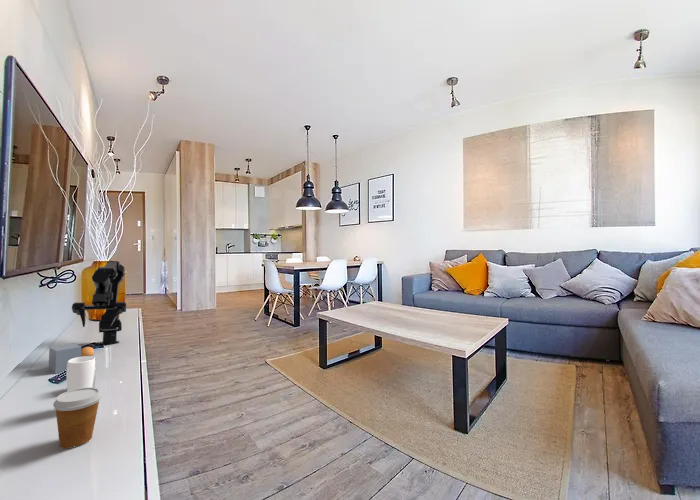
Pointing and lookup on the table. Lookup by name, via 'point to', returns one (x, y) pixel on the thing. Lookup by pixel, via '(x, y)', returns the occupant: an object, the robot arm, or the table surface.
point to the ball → (87, 351)
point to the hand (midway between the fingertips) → (97, 326)
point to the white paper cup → (80, 372)
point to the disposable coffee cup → (76, 415)
